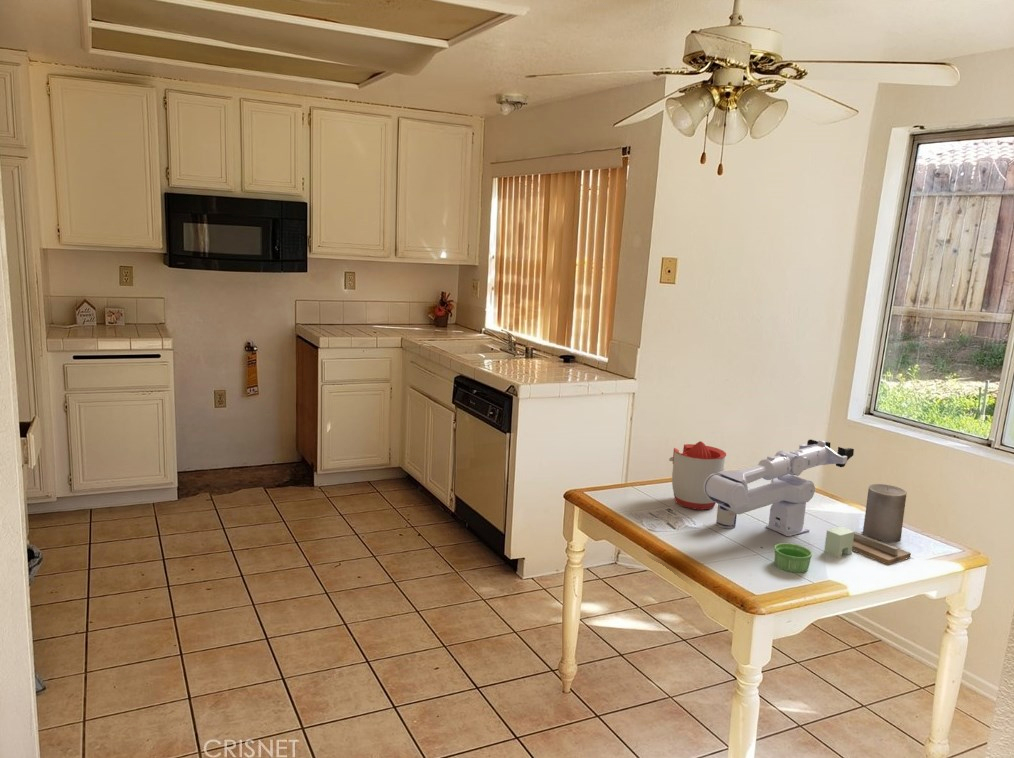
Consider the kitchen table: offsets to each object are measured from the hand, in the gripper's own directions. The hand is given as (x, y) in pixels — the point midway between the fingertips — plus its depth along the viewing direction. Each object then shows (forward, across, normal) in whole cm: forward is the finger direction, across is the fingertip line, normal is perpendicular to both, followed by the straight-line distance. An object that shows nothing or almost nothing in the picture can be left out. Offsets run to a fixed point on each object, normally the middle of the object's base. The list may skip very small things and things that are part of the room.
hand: (840, 448), depth 222 cm
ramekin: (-41, -17, +19) cm, 49 cm away
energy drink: (-36, +10, +19) cm, 42 cm away
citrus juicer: (-31, +28, +19) cm, 46 cm away
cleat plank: (-12, -19, +21) cm, 31 cm away
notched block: (-22, -17, +20) cm, 35 cm away
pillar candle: (0, -14, +22) cm, 26 cm away
